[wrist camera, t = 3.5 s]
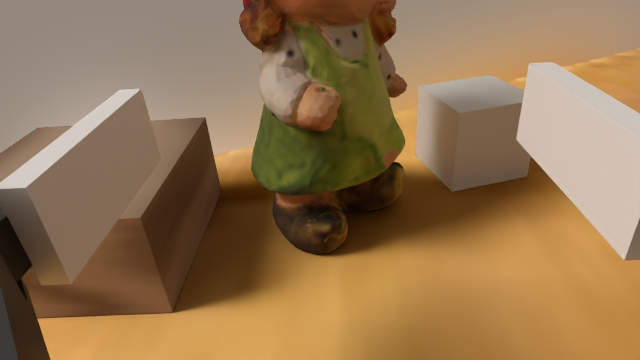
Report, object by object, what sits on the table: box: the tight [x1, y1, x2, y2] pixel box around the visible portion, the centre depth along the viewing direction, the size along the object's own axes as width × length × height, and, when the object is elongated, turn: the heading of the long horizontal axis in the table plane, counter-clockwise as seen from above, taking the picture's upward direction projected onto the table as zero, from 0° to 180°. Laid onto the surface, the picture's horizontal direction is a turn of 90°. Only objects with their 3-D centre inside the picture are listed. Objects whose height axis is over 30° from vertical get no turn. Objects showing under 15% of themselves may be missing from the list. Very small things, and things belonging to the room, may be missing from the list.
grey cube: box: [416, 75, 531, 192], centre depth 32 cm, size 6×6×6 cm
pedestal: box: [0, 118, 221, 318], centre depth 27 cm, size 12×12×6 cm
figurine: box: [239, 0, 407, 254], centre depth 25 cm, size 11×9×20 cm
